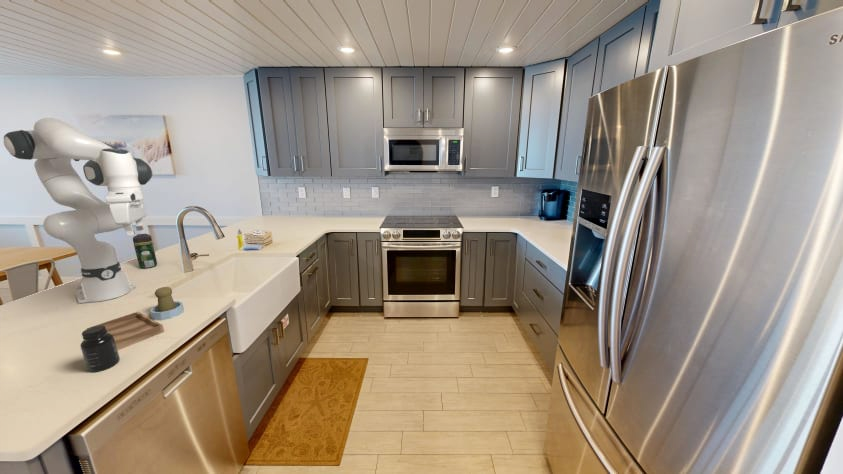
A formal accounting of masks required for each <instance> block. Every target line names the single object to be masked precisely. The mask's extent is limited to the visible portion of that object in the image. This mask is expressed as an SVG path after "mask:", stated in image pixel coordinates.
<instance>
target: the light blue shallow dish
mask: <svg viewBox="0 0 843 474" xmlns="http://www.w3.org/2000/svg"><path fill="white" fill-rule="evenodd" d="M173 301H174V303H175V306H176V308H175V309H172V310H169V311H164V312H158V304H157V305H155V306H153V307H152V308H151V309H150V310H149V314H150V317H151V319H152V320H154V321H165V320H169V319H172V318H175V317H178V316H180V315H181V314H183V313H184V311H185V308H184V303H183V302H182V301H179V300H177V301H175V300H173ZM164 319H165V320H164Z"/></svg>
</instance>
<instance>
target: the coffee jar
mask: <svg viewBox="0 0 843 474" xmlns="http://www.w3.org/2000/svg"><path fill="white" fill-rule="evenodd" d="M132 241H133V248H134V250H135V251H134V252H135V255H136V259H137V262H138V268H140V269H142V270H143V269H151V268H153V267H157V266H158V259H157V257H156V251H155V247H154V243H153V239H152V235H151V234H148V233H139V234H136V235H133V237H132Z"/></svg>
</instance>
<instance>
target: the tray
mask: <svg viewBox="0 0 843 474" xmlns="http://www.w3.org/2000/svg"><path fill="white" fill-rule="evenodd" d="M163 325H164V324H161V323H159V322H157V320H154V319H152V318H150V317H149V316H147V315H145V314H143V313H142V312H139V311H136V312H133V313H129V314H126V315H123V316H120V317H118V318H114V319H112V320H108V321H104V322H102V323H99V324H95V325H92V326H89V327H87V328H86V329H89V328H92V327H95V326H105V327H106V330H107V333H110V334H112V335H113V337H114V340H115V343H116V347H117V350H118V351H120V350H122V349H124V348H126V347H130V346H132V345H134V344H137V343H140V342H142V341H145V340H147V339H149V338H152V337H154V336H158V335H159V334H162V333H164V332H165V330H164V326H163Z"/></svg>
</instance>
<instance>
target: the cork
mask: <svg viewBox="0 0 843 474" xmlns="http://www.w3.org/2000/svg"><path fill="white" fill-rule="evenodd" d="M172 294H173V289H172V288H171V287H170V286H162V287H159V288H157V289H155V291H154V296H155V297H156V298H157V305H158V312H164V311H169V310H172V309H175V308H176V306H175V303H174V301H175V300H174V298H173V296H172Z"/></svg>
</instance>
